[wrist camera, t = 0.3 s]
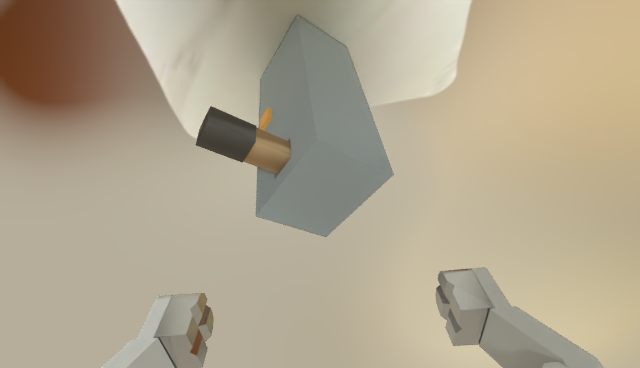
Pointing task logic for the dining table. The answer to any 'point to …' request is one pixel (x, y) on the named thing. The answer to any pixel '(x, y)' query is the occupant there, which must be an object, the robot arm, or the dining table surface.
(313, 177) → the cabinet
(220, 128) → the lever
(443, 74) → the dining table surface
